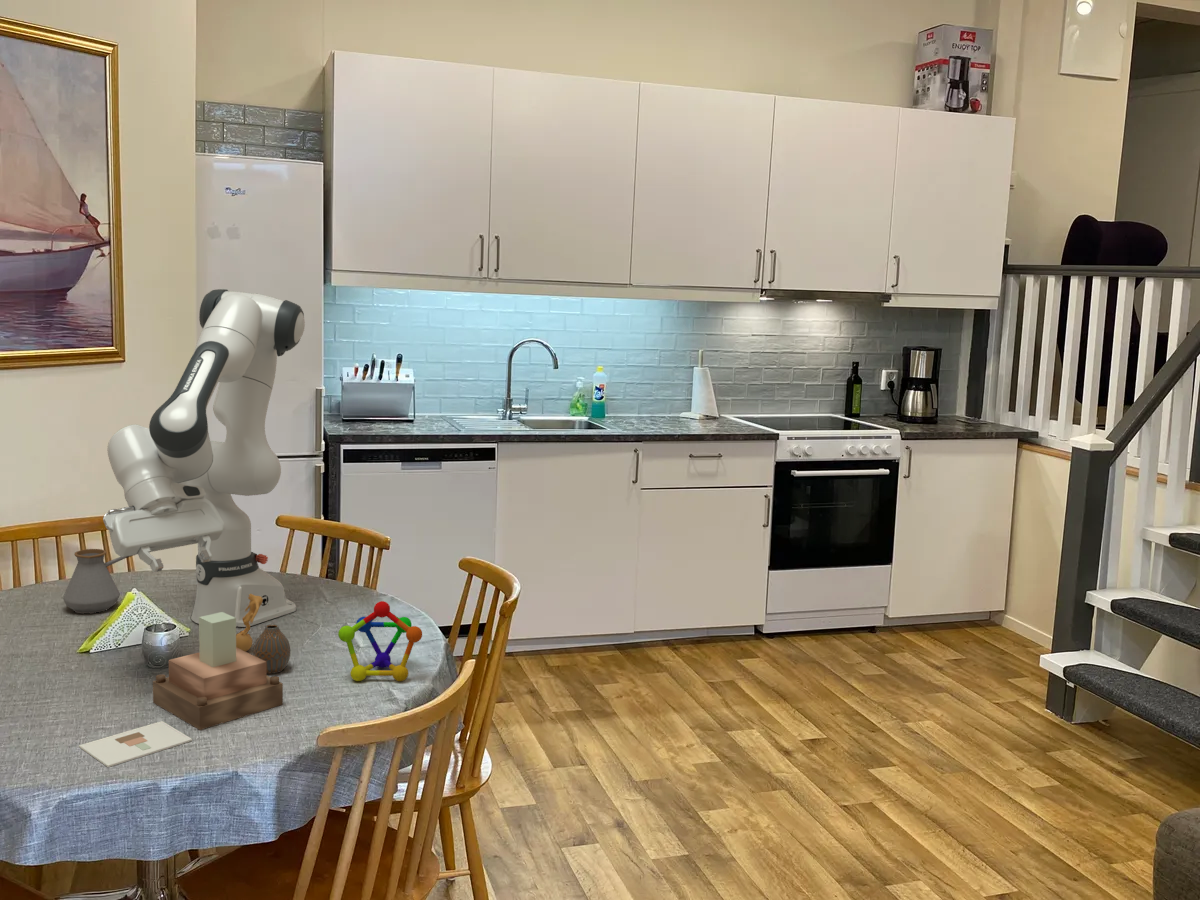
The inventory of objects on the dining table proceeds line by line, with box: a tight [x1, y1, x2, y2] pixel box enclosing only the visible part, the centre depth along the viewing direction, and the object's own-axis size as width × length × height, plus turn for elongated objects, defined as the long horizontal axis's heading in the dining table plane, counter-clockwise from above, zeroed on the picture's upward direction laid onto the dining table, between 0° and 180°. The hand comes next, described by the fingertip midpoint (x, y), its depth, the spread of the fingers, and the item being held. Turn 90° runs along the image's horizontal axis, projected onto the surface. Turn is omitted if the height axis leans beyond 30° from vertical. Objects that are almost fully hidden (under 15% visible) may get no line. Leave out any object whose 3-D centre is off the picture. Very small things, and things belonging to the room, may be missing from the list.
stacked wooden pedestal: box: [152, 647, 284, 731], centre depth 195 cm, size 16×16×8 cm
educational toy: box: [337, 600, 423, 682], centre depth 212 cm, size 16×13×15 cm
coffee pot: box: [62, 548, 134, 614], centre depth 245 cm, size 21×12×15 cm, turn 113°
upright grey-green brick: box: [198, 612, 237, 667], centre depth 194 cm, size 4×4×8 cm
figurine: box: [236, 594, 263, 652], centre depth 221 cm, size 8×6×12 cm
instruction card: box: [78, 720, 193, 768], centre depth 178 cm, size 14×10×1 cm
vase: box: [252, 624, 291, 674], centre depth 212 cm, size 7×7×9 cm
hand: (183, 565), depth 200 cm, fingers open, 8 cm apart
